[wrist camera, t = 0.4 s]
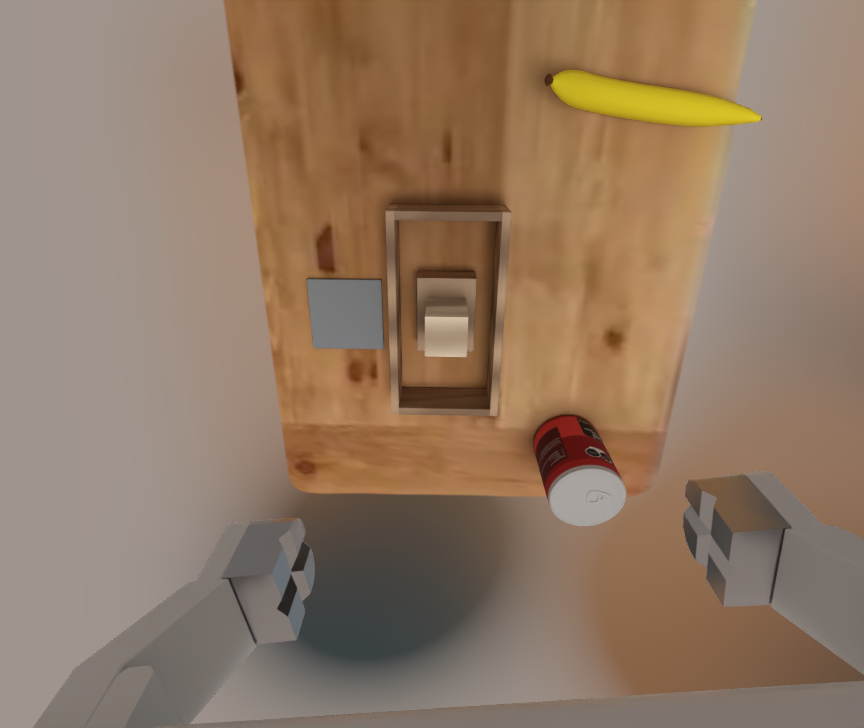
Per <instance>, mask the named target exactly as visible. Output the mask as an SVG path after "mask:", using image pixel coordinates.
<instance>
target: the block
mask: <svg viewBox="0 0 864 728" xmlns="http://www.w3.org/2000/svg"><path fill="white" fill-rule="evenodd" d="M467 339H468V311H467V303H466V298H446V297H427V302H426V311H425V356H433V357H467Z"/></svg>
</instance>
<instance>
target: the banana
mask: <svg viewBox="0 0 864 728" xmlns="http://www.w3.org/2000/svg"><path fill="white" fill-rule="evenodd" d="M545 84H546V85H551V88H552V90H553V91H554V93H555V94H556V95H557V96H558V97H559V98H560V99H561V100H562V101H563V102H565V103H566V104H567V105H569V106H572V107H574V108H577V109H581V110H585V111H589V112H593V113H598V114H603V115H609V116H614V117H620V118H626V119H632V120H638V121H645V122H652V123H660V124H668V125H678V126H692V127H706V126H723V125H735V124H745V123H752V122H759V121H760V120H762V117H761V115H759V114H757V113H756V112H754V111H753V110H751V109H749V108H747V107H744V106H741V105H739V104H736V103H734V102H731V101H728V100H725V99H722V98H719V97H715V96H711V95H707V94H703V93H697V92H692V91H686V90H680V89H674V88H667V87H661V86H654V85H647V84H641V83H635V82H629V81H623V80H618V79H613V78H608V77H604V76H600V75H596V74H592V73H589V72H585V71H581V70H566V71H562V72H560V73H558V74H557V75H555V76H553V77H552V75H551V74H548V75H547V76H546V78H545Z"/></svg>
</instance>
